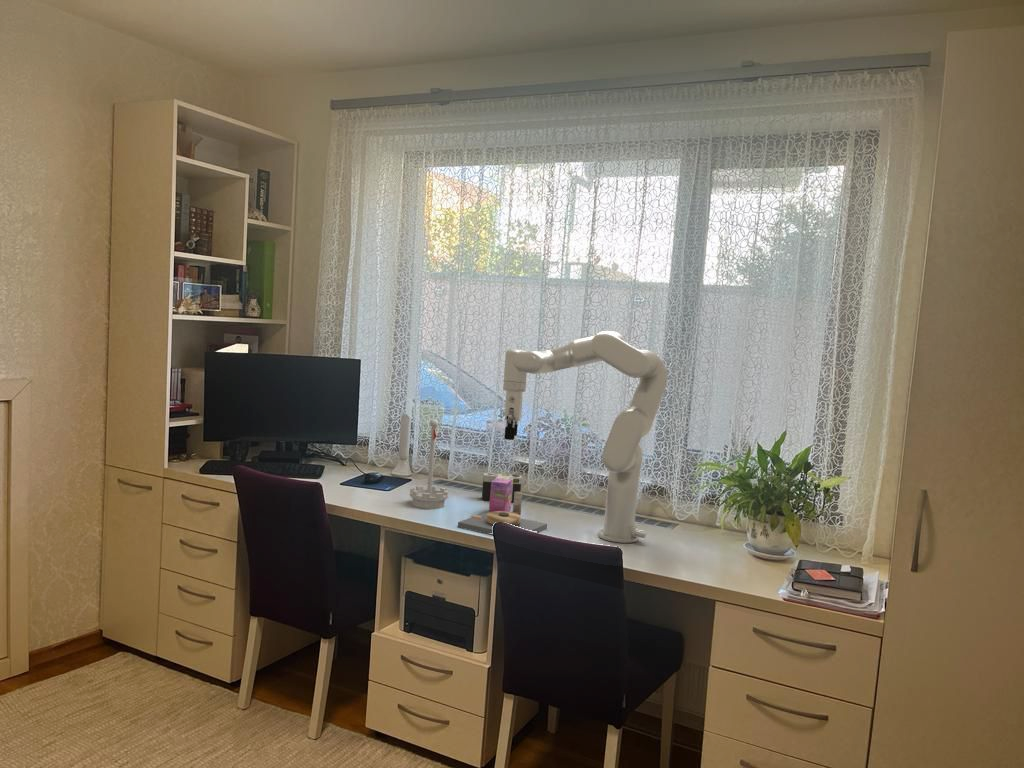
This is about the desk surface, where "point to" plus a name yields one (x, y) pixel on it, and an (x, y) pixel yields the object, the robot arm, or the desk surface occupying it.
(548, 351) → the robot arm
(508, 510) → the box
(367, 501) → the desk surface
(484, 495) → the camera
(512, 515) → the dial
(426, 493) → the flag stand
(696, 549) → the desk surface
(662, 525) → the desk surface
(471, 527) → the board
